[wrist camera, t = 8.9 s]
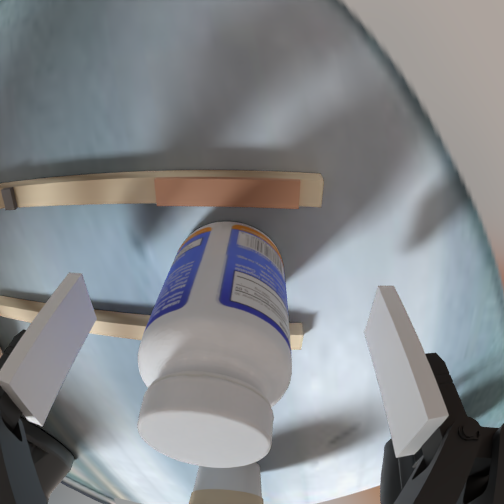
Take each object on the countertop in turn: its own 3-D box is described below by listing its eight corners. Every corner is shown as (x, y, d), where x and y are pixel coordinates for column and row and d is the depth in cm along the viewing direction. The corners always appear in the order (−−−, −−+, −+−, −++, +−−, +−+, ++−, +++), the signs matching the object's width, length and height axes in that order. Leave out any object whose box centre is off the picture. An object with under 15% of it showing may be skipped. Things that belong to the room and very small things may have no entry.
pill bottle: (190, 309, 18) (149, 468, 10) (167, 222, 15) (79, 388, 7) (287, 303, 18) (295, 475, 9) (281, 212, 15) (295, 396, 7)
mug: (438, 393, 22) (468, 487, 14) (445, 436, 28) (463, 504, 19) (353, 427, 25) (365, 522, 17) (380, 461, 30) (391, 530, 22)
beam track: (6, 307, 19) (-3, 318, 18) (-36, 188, 14) (-49, 196, 13) (299, 337, 19) (301, 353, 18) (320, 173, 14) (325, 182, 13)
